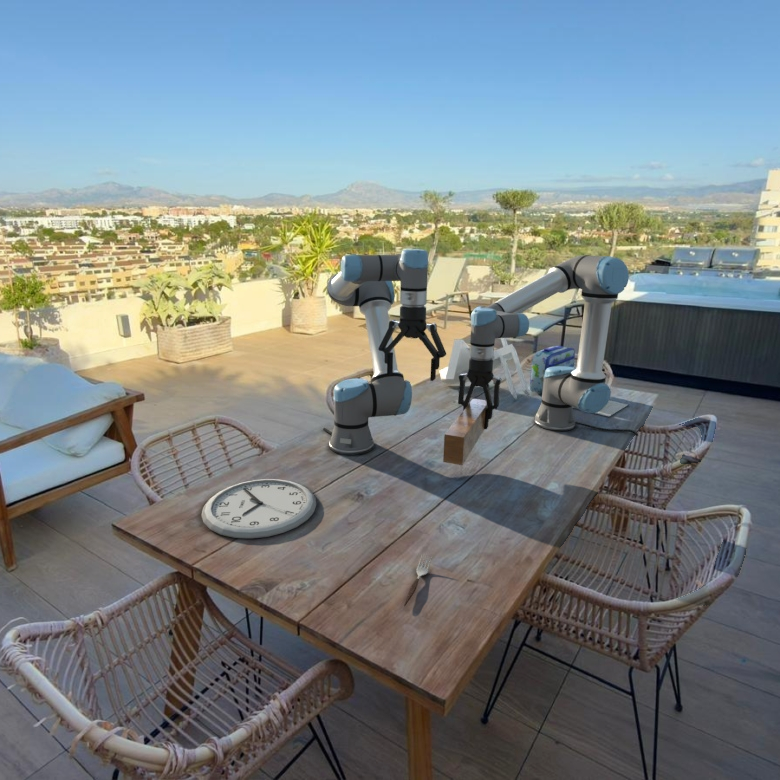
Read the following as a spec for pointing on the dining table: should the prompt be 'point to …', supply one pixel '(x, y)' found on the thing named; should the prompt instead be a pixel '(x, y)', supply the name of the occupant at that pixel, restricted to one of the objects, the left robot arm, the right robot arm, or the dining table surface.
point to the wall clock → (258, 508)
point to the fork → (420, 572)
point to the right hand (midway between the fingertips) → (476, 426)
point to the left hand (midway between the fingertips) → (411, 377)
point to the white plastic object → (502, 355)
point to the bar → (464, 432)
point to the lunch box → (549, 364)
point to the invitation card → (611, 408)
